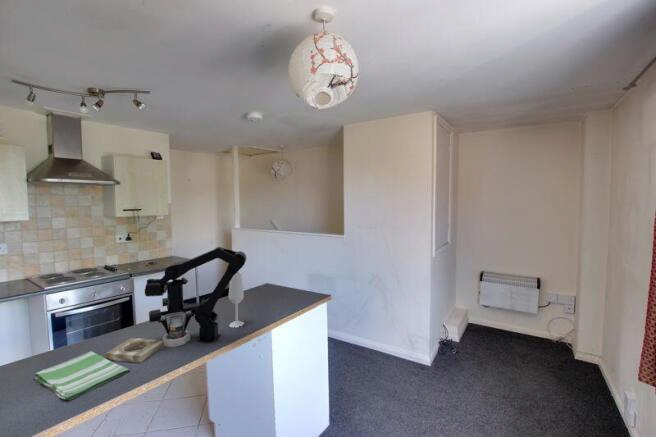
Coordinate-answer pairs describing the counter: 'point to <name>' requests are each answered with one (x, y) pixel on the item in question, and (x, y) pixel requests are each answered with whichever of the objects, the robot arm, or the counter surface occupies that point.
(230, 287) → the champagne flute
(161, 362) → the counter surface
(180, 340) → the octagonal ring
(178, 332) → the pill bottle
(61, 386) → the dish towel
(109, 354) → the socket plate
